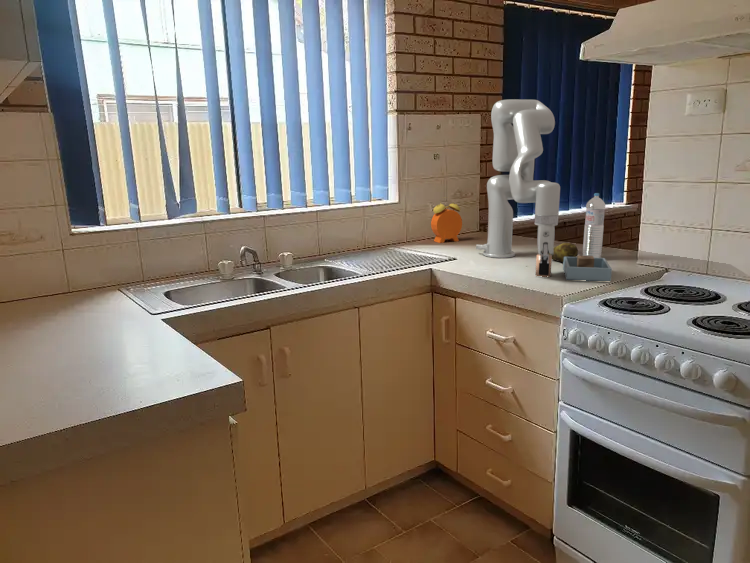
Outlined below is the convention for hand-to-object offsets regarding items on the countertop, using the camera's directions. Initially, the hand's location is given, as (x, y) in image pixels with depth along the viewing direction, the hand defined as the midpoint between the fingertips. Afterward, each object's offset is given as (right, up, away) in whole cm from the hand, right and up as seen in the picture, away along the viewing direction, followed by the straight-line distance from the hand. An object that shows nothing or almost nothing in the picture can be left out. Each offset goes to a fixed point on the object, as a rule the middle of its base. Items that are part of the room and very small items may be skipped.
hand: (543, 272), depth 196 cm
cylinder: (0, -1, 0) cm, 1 cm away
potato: (+13, +4, +20) cm, 24 cm away
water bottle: (+26, +5, +27) cm, 38 cm away
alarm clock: (-25, +15, +69) cm, 74 cm away
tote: (+14, -1, 0) cm, 14 cm away
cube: (+15, 0, +3) cm, 16 cm away
